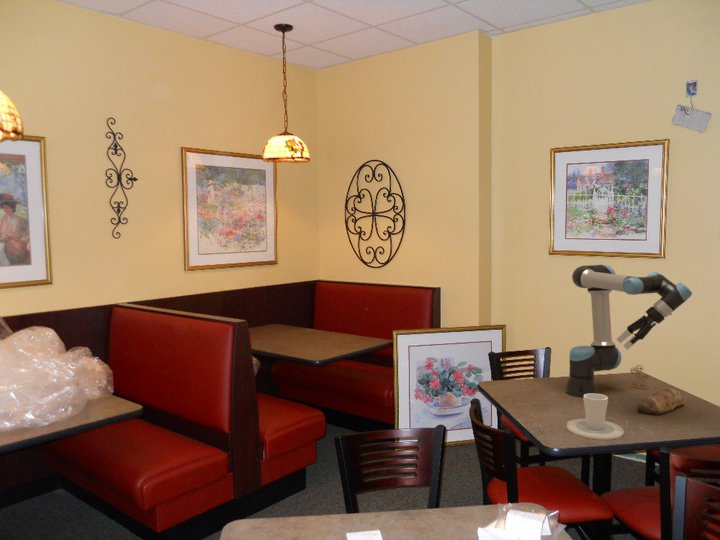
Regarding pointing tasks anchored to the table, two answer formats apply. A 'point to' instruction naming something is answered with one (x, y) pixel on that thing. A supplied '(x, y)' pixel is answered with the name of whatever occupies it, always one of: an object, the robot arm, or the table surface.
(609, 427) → the plate
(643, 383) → the gingerbread man figurine
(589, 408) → the foam cup
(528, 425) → the table surface
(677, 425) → the table surface
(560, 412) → the table surface
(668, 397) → the bread loaf
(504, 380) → the table surface
